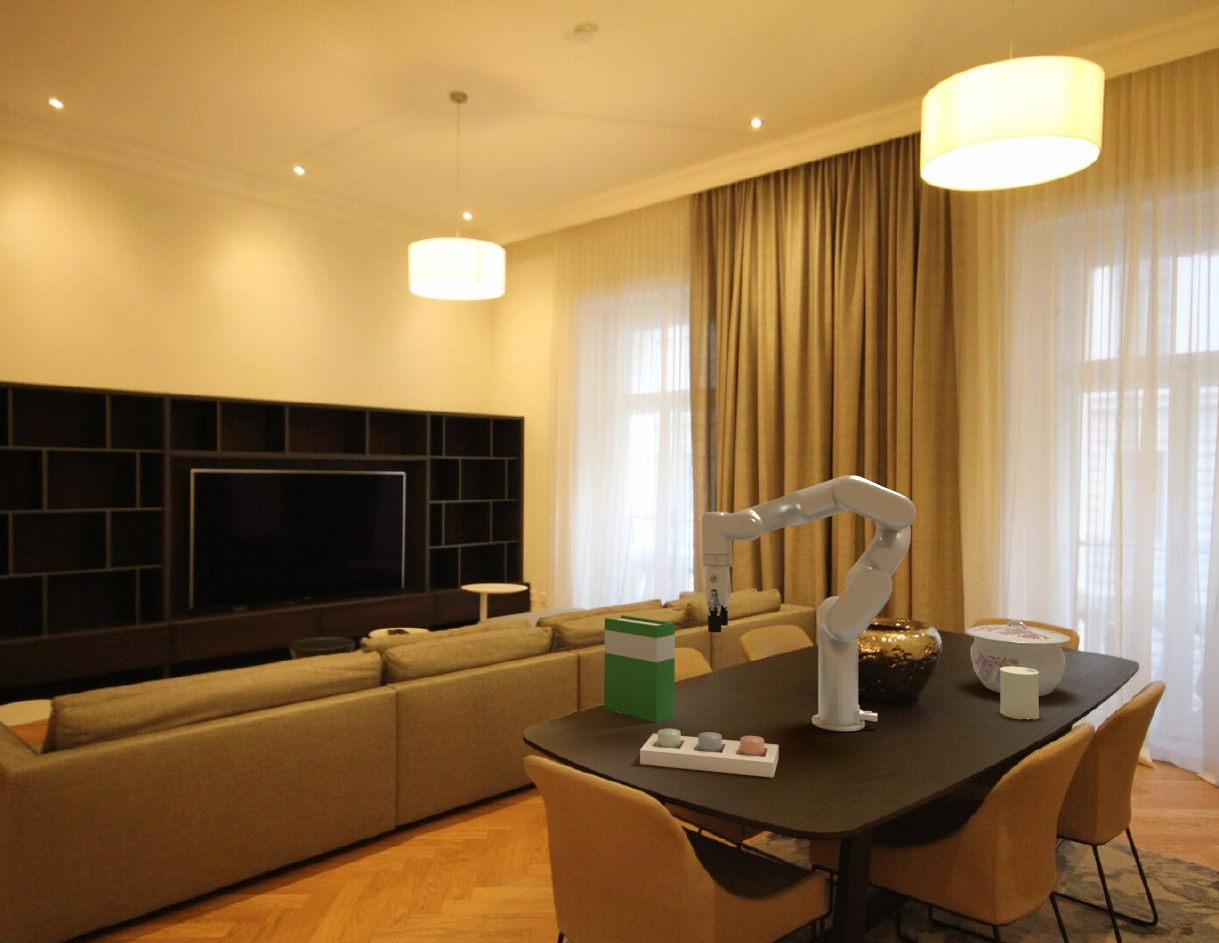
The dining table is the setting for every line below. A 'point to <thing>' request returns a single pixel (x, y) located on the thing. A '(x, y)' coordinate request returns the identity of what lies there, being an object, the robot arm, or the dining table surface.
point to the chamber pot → (1017, 653)
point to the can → (1019, 692)
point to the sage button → (669, 738)
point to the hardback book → (640, 667)
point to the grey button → (710, 742)
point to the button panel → (710, 757)
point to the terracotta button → (752, 746)
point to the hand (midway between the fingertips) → (718, 628)
